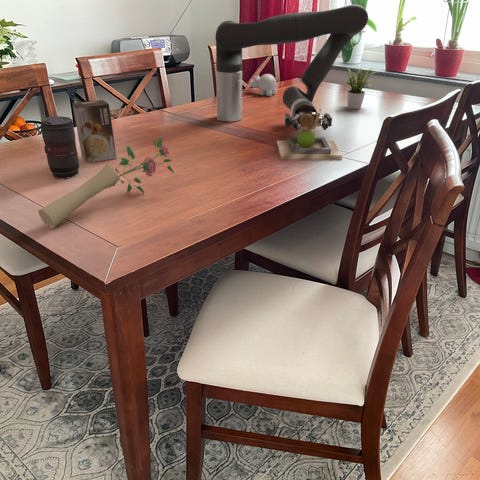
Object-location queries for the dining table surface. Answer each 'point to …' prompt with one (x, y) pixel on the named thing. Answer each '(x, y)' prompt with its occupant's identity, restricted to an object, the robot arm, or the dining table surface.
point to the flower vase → (97, 187)
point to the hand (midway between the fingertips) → (311, 126)
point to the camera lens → (60, 146)
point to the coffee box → (94, 130)
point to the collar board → (308, 149)
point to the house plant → (356, 89)
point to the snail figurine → (307, 129)
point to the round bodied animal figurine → (265, 84)
